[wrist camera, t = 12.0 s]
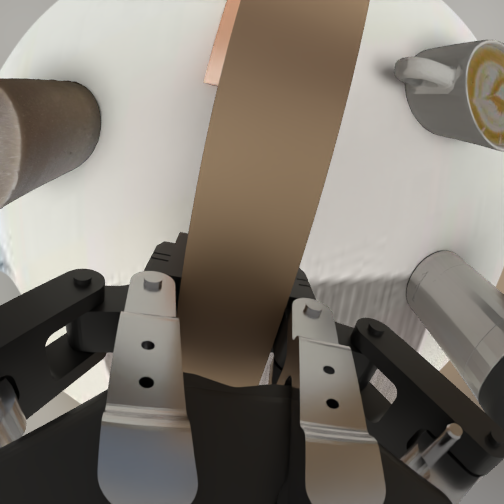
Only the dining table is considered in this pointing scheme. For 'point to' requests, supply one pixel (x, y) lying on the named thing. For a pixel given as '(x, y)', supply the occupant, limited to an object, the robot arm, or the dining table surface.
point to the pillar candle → (43, 132)
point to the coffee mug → (458, 91)
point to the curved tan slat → (263, 178)
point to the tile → (221, 43)
